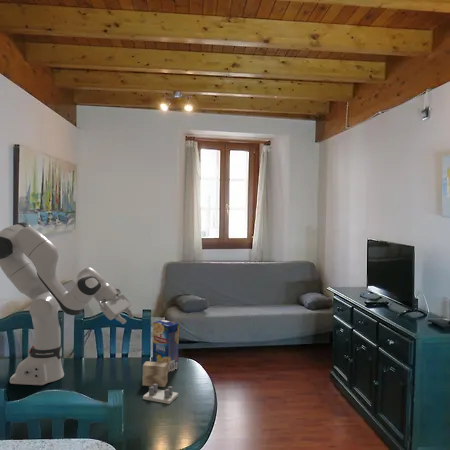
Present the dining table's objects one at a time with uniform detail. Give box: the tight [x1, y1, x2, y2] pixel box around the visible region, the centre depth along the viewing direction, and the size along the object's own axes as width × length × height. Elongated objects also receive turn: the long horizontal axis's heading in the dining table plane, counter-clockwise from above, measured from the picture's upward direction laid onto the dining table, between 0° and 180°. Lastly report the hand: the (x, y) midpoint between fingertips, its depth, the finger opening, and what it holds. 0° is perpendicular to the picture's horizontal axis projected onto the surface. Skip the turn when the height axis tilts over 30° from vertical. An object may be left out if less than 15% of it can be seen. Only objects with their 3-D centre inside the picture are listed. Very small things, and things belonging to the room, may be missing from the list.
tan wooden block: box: [142, 360, 169, 388], centre depth 190 cm, size 10×5×9 cm, turn 84°
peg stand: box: [142, 384, 179, 405], centre depth 176 cm, size 12×8×4 cm, turn 70°
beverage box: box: [152, 319, 180, 373], centre depth 209 cm, size 7×11×22 cm, turn 51°
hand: (128, 320), depth 190 cm, fingers open, 8 cm apart
